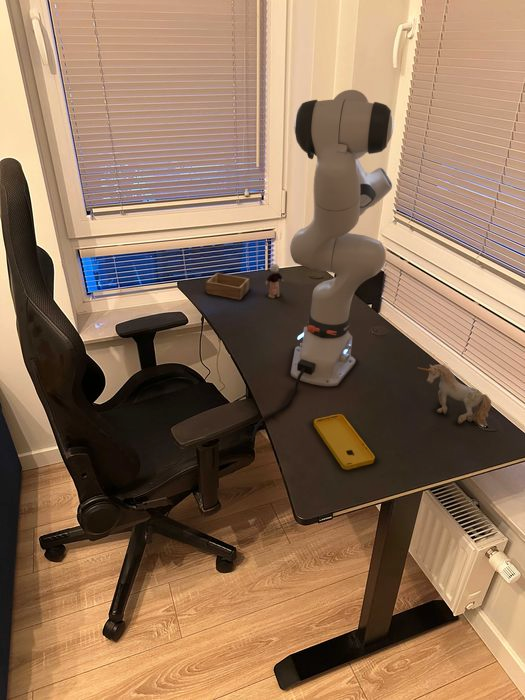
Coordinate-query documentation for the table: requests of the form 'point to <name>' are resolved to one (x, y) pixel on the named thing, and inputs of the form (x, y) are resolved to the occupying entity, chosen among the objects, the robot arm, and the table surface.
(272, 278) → the grandmother figurine
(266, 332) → the table surface
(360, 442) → the phone case
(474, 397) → the unicorn figurine
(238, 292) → the holder
